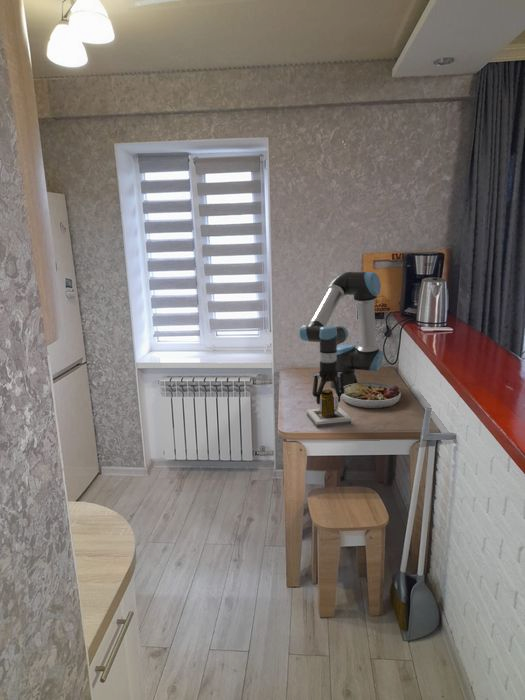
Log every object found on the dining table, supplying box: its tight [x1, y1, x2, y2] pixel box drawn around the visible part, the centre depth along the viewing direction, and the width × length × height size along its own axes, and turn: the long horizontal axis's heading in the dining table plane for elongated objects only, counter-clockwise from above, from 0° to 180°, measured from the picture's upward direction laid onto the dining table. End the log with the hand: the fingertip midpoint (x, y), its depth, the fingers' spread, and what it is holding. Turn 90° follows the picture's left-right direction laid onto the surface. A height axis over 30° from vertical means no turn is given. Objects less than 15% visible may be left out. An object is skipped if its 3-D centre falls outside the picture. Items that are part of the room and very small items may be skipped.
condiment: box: [319, 389, 341, 419], centre depth 213 cm, size 7×8×12 cm
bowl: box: [340, 382, 402, 409], centre depth 239 cm, size 30×30×8 cm
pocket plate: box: [306, 406, 352, 429], centre depth 215 cm, size 16×16×3 cm
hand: (328, 409), depth 214 cm, fingers open, 7 cm apart
